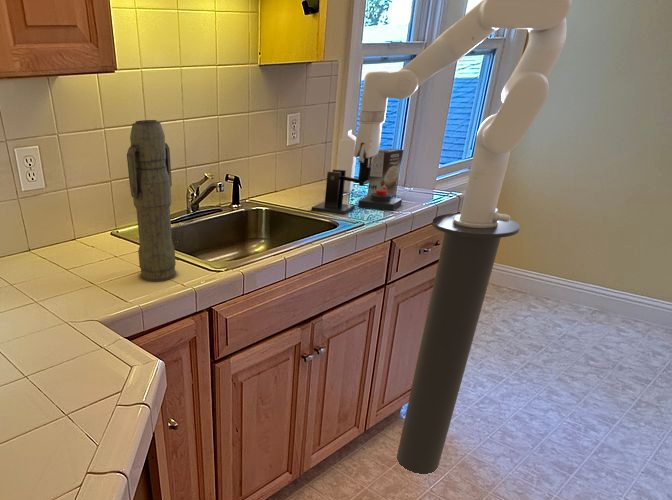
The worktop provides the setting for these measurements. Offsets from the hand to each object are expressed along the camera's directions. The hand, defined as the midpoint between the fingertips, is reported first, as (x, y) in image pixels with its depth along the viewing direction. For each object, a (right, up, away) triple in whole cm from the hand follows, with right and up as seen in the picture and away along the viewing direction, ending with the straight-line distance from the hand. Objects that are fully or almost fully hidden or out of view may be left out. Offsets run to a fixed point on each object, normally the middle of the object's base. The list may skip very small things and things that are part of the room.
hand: (363, 179), depth 163 cm
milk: (+4, +8, +36) cm, 37 cm away
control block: (+10, -5, +12) cm, 16 cm away
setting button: (+10, -2, +10) cm, 14 cm away
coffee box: (+16, +3, +26) cm, 30 cm away
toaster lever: (-4, 0, +4) cm, 5 cm away
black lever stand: (-7, -7, +11) cm, 14 cm away
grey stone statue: (-65, -38, -38) cm, 84 cm away
